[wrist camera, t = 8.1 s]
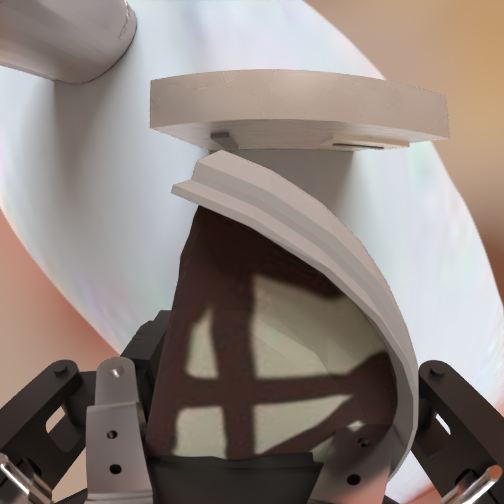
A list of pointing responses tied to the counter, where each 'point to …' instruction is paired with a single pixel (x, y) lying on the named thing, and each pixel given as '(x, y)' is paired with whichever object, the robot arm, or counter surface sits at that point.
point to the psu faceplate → (295, 111)
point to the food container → (276, 327)
